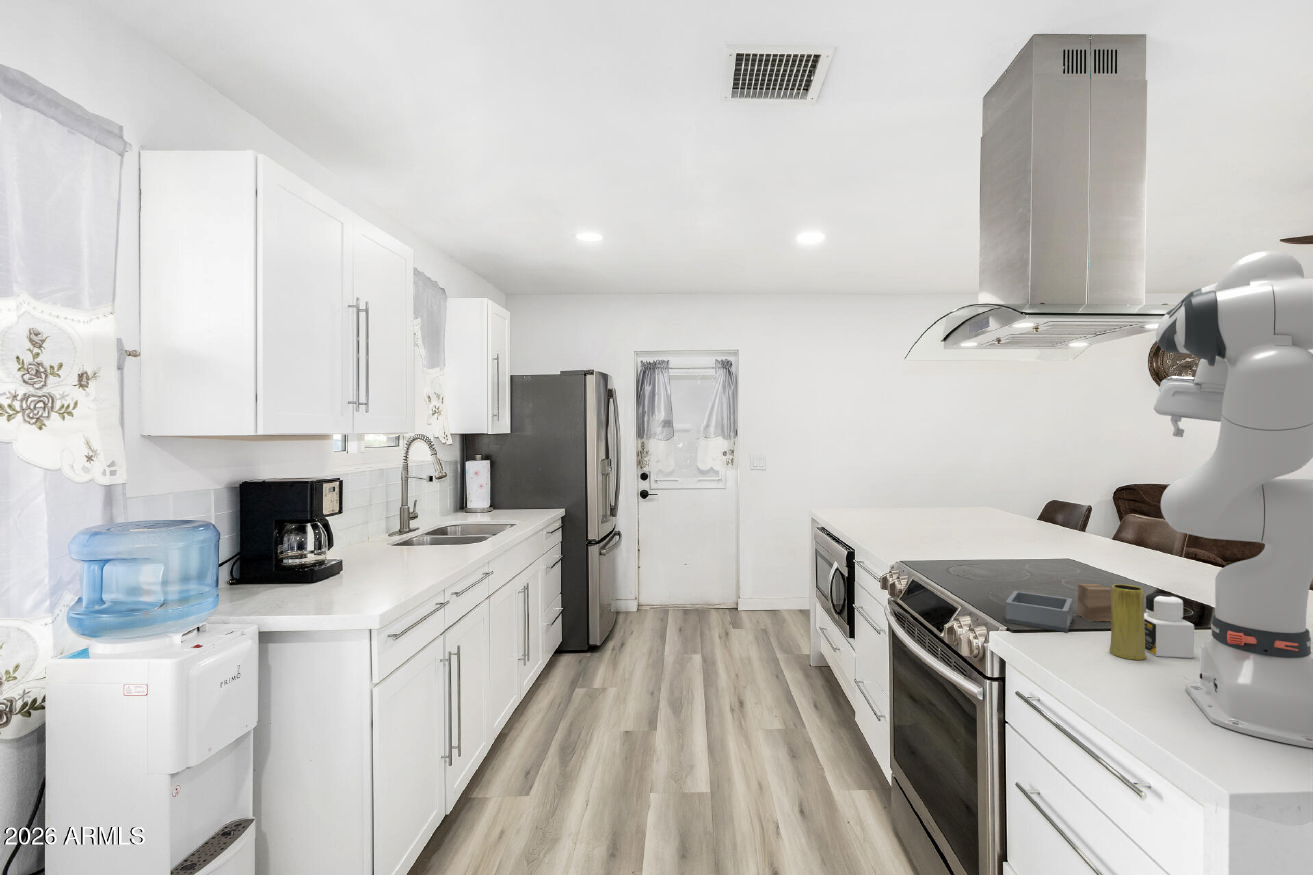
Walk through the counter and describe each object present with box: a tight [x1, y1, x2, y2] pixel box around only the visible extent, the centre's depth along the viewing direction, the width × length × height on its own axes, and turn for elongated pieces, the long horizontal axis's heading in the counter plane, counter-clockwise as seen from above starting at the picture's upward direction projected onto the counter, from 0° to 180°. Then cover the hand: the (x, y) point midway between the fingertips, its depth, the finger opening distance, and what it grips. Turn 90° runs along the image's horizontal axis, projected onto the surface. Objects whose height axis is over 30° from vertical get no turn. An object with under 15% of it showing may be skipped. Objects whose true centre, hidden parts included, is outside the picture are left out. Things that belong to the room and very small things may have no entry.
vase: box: [1109, 583, 1147, 661], centre depth 126 cm, size 6×6×14 cm
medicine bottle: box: [1144, 592, 1195, 659], centre depth 128 cm, size 7×7×12 cm
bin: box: [1005, 590, 1074, 633], centre depth 149 cm, size 13×13×5 cm
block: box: [1077, 583, 1112, 621], centre depth 150 cm, size 5×5×8 cm
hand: (1204, 440), depth 134 cm, fingers open, 8 cm apart
